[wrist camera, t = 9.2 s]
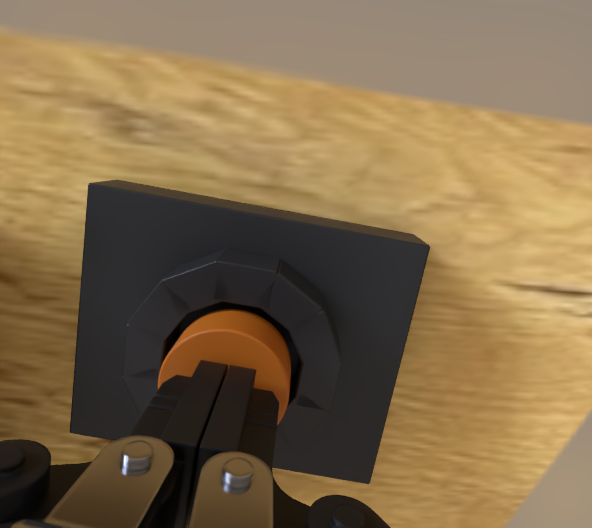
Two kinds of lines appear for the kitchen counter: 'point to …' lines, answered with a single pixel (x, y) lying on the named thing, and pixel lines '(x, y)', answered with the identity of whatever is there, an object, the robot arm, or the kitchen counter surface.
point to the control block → (250, 297)
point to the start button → (234, 350)
